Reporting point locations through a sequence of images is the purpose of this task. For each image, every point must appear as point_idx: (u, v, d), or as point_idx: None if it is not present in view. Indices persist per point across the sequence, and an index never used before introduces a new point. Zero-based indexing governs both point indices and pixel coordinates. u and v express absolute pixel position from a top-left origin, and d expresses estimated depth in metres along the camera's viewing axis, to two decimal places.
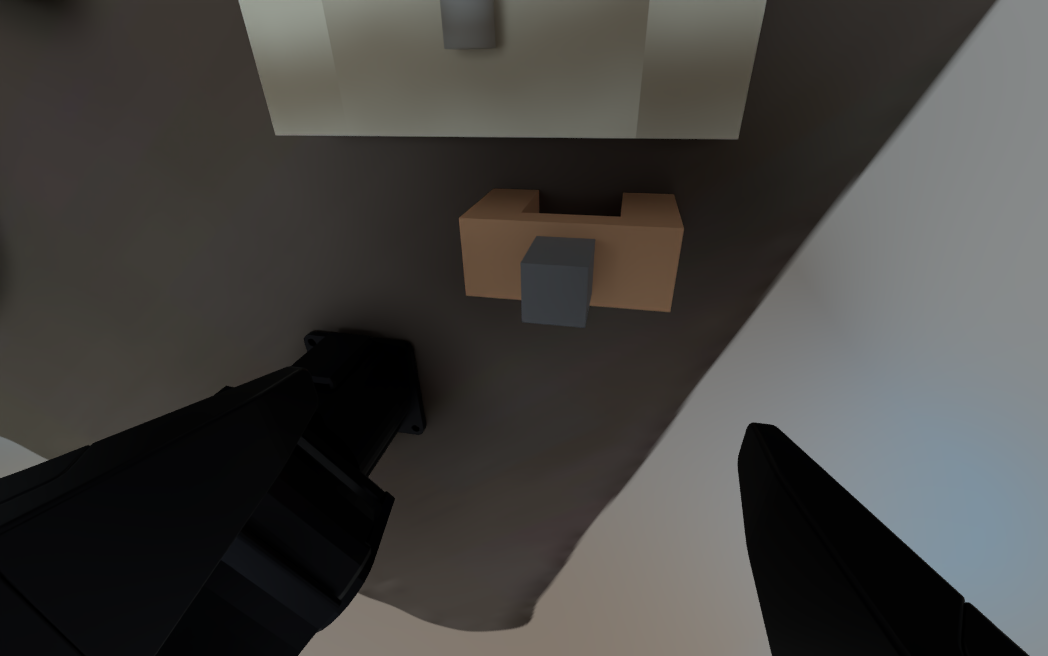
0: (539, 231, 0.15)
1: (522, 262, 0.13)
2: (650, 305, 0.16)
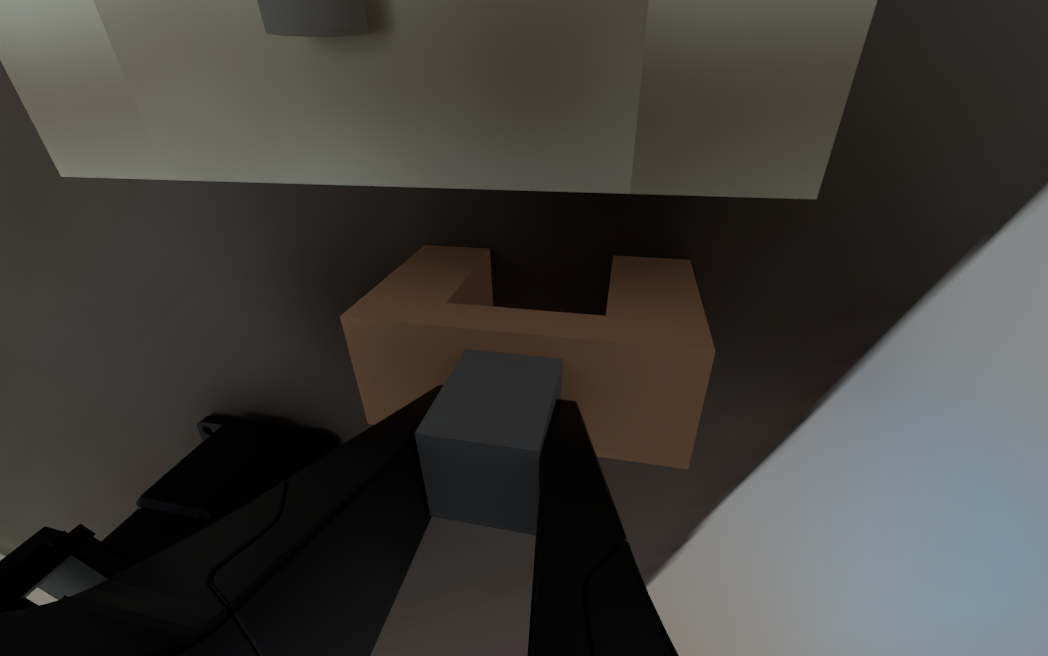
0: (470, 343, 0.09)
1: (418, 431, 0.07)
2: (655, 458, 0.10)
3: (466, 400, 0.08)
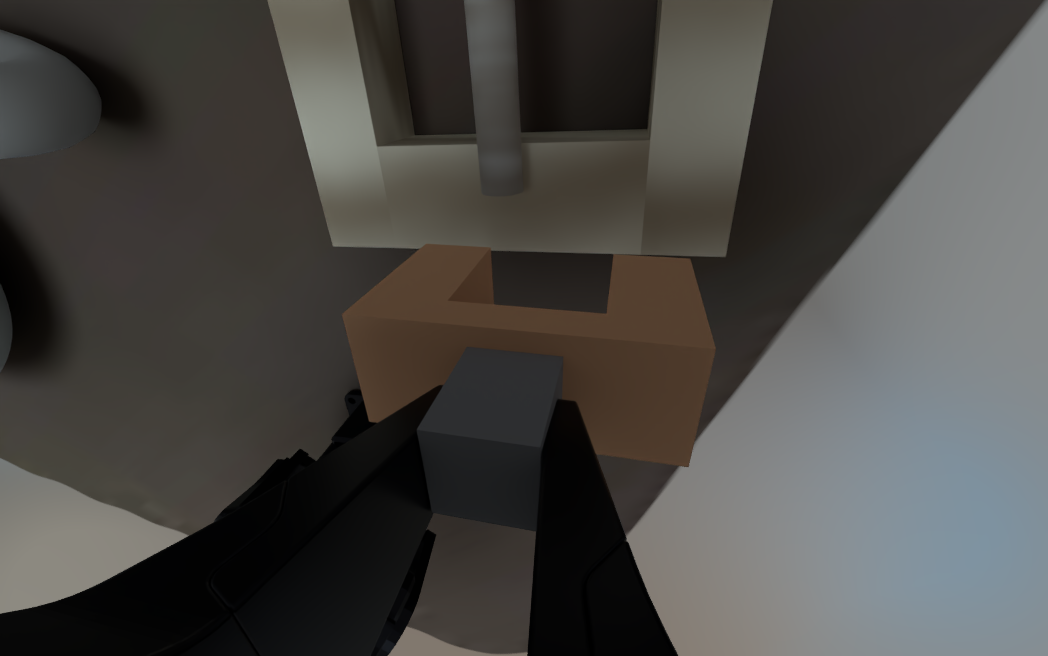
0: (471, 340, 0.09)
1: (420, 428, 0.07)
2: (656, 456, 0.10)
3: (468, 397, 0.08)
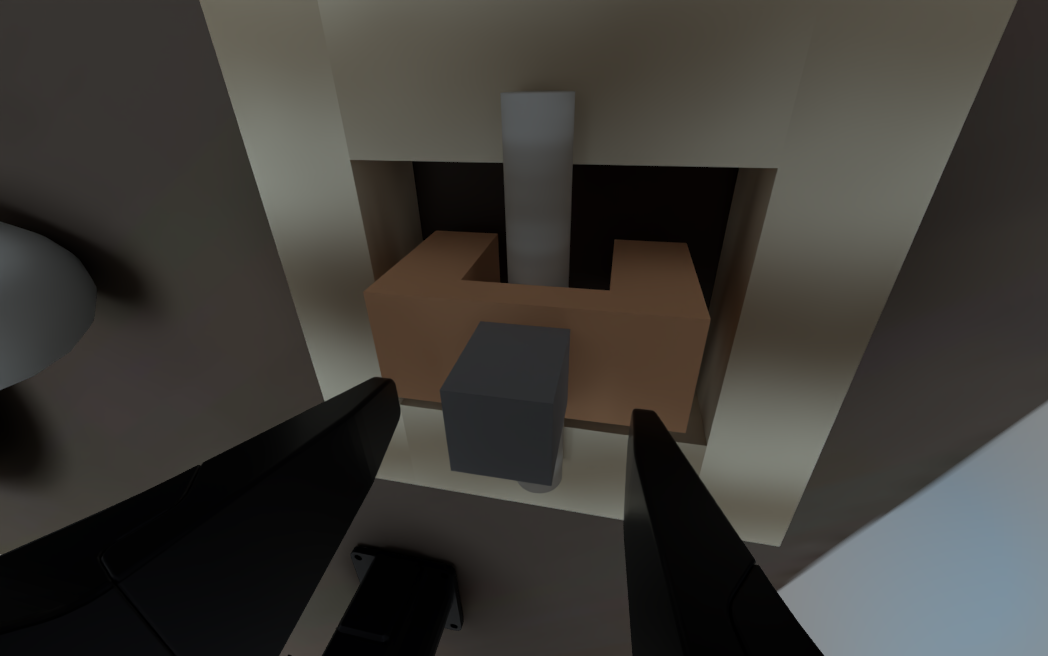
0: (485, 315, 0.10)
1: (443, 388, 0.08)
2: None
3: (484, 363, 0.08)
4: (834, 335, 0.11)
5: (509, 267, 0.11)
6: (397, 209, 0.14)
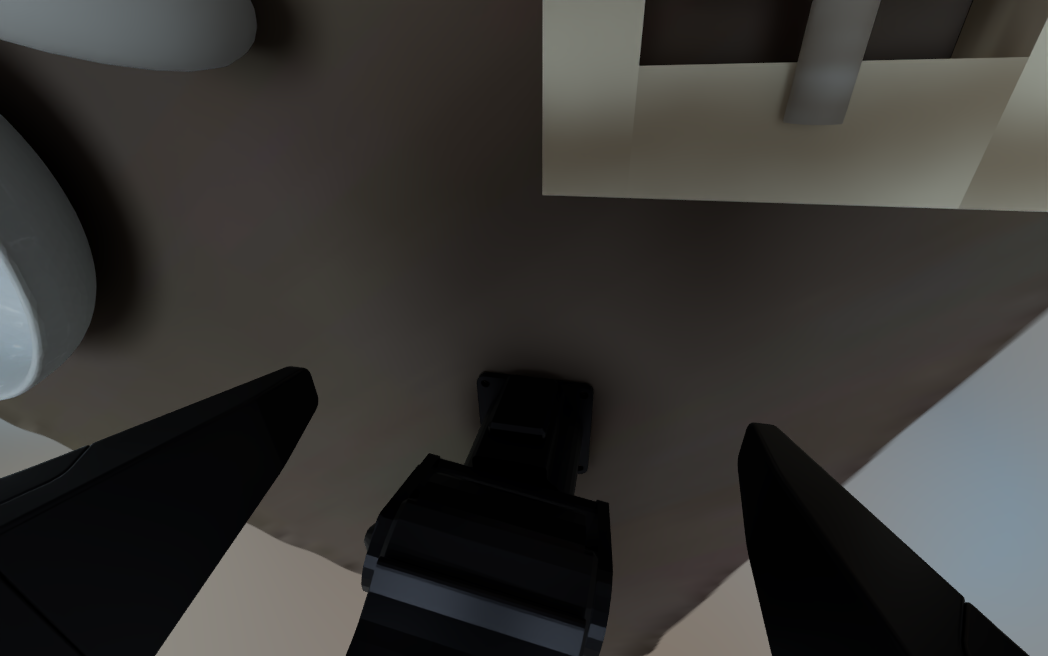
0: None
1: None
2: None
3: None
4: None
5: None
6: None
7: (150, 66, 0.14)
